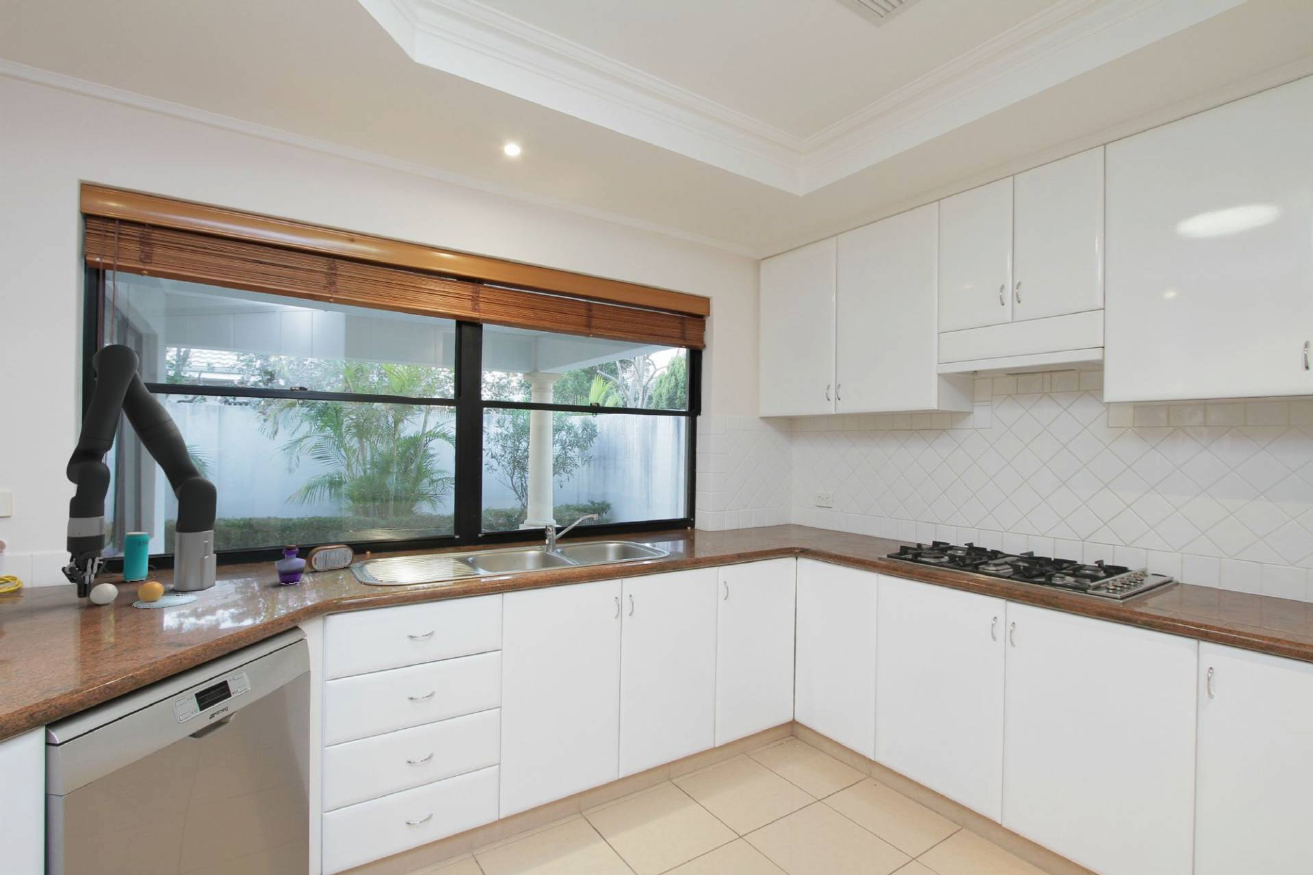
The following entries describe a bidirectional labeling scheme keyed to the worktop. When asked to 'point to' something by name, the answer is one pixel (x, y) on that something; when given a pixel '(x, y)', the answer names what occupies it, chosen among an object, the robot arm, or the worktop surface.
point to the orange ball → (150, 591)
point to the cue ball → (103, 593)
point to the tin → (330, 557)
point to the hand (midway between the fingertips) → (84, 597)
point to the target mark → (166, 601)
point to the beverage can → (136, 556)
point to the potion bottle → (290, 565)
